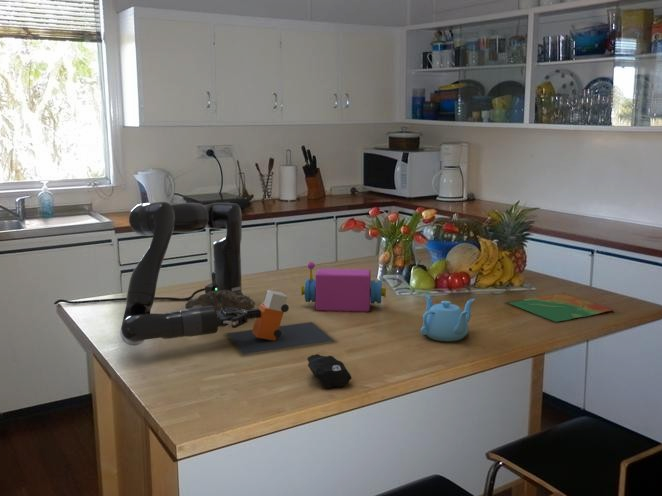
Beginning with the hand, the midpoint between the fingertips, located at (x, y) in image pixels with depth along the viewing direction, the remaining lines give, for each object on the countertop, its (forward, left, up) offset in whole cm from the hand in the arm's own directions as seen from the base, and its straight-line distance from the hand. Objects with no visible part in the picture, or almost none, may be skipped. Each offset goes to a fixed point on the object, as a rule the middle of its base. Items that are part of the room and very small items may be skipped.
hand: (259, 312), depth 185 cm
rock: (+26, -23, -8) cm, 35 cm away
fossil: (-18, +14, -8) cm, 25 cm away
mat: (+5, +4, -8) cm, 10 cm away
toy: (+15, +37, -8) cm, 41 cm away
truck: (+1, +1, -7) cm, 7 cm away
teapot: (+51, +18, -8) cm, 55 cm away
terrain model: (+84, +55, -8) cm, 101 cm away
